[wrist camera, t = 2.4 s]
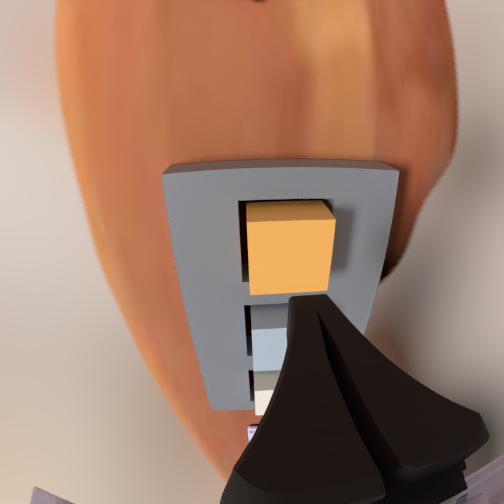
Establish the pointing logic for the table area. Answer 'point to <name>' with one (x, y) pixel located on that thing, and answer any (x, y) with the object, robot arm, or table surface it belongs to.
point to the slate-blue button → (269, 335)
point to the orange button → (289, 246)
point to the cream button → (264, 388)
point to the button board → (237, 273)
